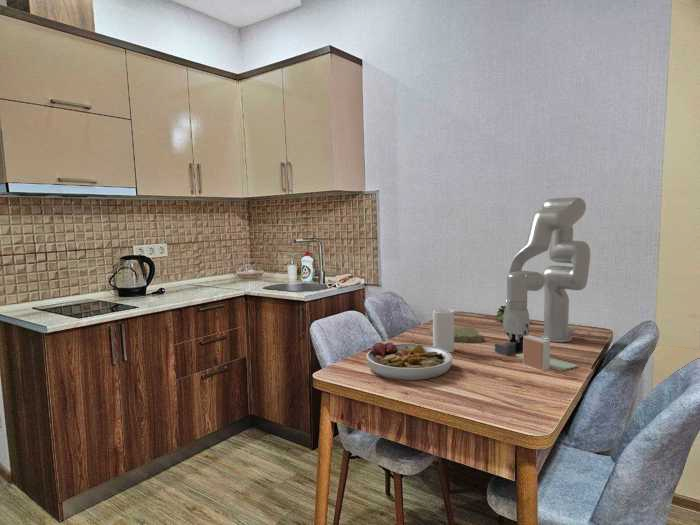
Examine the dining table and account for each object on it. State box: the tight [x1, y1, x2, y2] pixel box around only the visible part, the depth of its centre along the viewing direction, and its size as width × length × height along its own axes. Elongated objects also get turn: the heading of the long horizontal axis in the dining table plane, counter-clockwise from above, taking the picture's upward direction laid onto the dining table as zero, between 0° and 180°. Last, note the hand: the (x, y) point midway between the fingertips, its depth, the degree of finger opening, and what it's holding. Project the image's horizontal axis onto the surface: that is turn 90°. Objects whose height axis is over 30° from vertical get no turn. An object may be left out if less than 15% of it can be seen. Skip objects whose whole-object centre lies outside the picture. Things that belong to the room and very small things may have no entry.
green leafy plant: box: [494, 304, 507, 321], centre depth 230 cm, size 11×11×12 cm
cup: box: [432, 308, 455, 353], centre depth 183 cm, size 8×8×16 cm
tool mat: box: [515, 352, 579, 372], centre depth 167 cm, size 9×20×1 cm, turn 26°
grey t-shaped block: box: [494, 341, 523, 357], centre depth 180 cm, size 15×6×4 cm, turn 116°
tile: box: [522, 334, 551, 371], centre depth 161 cm, size 3×9×10 cm, turn 26°
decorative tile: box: [429, 326, 483, 343], centre depth 203 cm, size 19×20×4 cm
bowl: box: [366, 341, 453, 381], centre depth 162 cm, size 30×30×8 cm
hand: (516, 350), depth 180 cm, fingers closed on grey t-shaped block, 2 cm apart
